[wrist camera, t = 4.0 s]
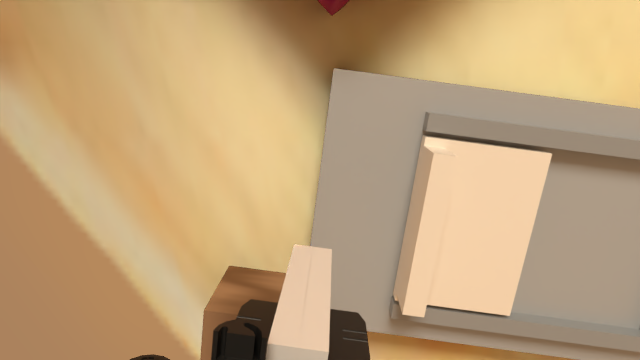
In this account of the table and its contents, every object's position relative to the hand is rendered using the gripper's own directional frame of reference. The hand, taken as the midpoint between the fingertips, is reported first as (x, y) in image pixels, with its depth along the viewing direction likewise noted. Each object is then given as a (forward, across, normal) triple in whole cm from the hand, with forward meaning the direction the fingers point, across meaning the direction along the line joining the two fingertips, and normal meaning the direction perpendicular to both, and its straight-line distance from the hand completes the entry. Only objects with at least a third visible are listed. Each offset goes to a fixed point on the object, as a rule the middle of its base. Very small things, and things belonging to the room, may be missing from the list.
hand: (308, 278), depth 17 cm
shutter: (+9, +9, 0) cm, 12 cm away
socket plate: (+12, +11, 0) cm, 16 cm away
